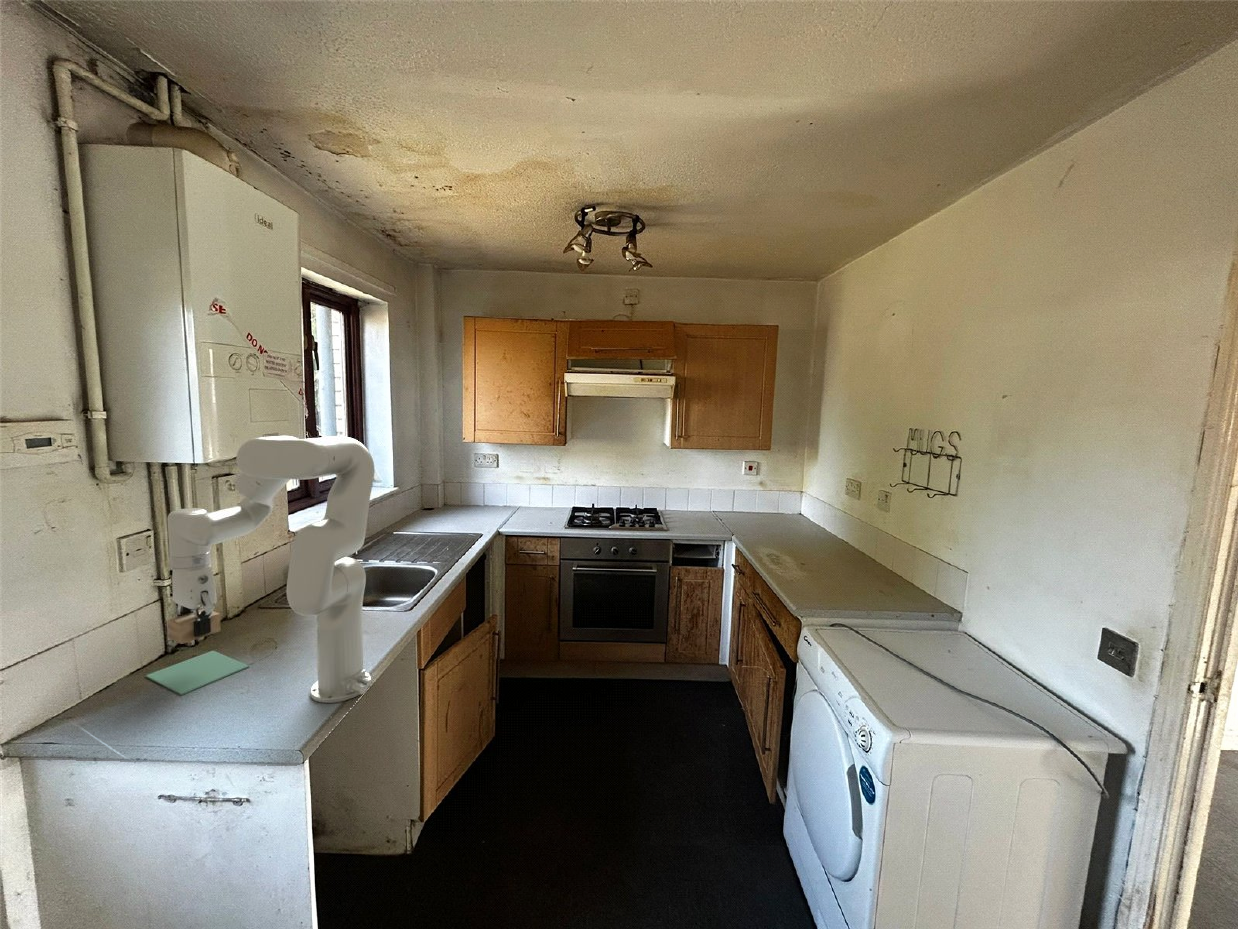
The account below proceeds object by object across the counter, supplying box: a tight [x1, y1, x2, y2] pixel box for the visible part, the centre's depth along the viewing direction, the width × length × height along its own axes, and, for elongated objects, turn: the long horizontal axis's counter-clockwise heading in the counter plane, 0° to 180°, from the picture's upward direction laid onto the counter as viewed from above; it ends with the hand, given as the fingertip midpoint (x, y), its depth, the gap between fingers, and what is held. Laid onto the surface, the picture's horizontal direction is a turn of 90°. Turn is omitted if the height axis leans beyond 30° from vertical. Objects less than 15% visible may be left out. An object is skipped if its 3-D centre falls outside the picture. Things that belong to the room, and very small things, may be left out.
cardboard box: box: [166, 608, 222, 645], centre depth 122 cm, size 8×6×5 cm
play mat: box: [145, 650, 250, 696], centre depth 123 cm, size 16×14×1 cm
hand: (195, 630), depth 122 cm, fingers closed on cardboard box, 5 cm apart
